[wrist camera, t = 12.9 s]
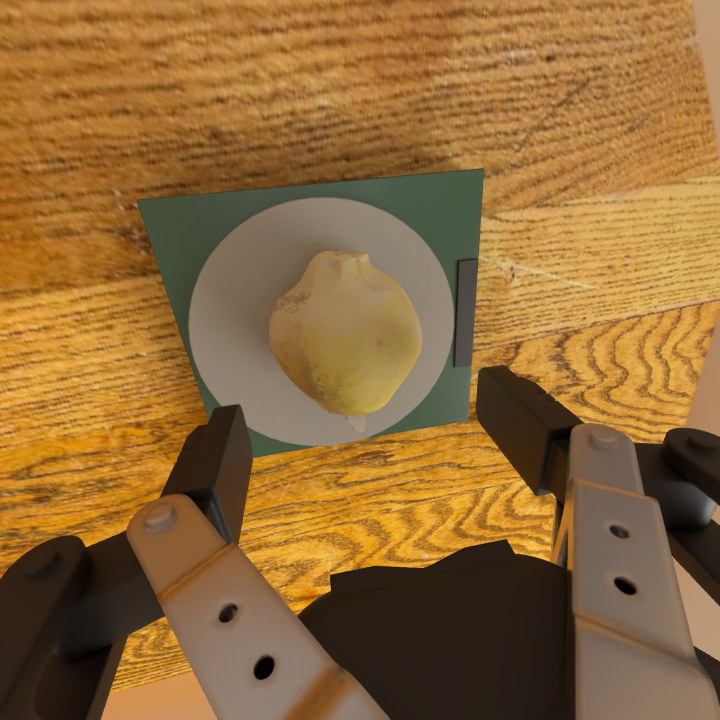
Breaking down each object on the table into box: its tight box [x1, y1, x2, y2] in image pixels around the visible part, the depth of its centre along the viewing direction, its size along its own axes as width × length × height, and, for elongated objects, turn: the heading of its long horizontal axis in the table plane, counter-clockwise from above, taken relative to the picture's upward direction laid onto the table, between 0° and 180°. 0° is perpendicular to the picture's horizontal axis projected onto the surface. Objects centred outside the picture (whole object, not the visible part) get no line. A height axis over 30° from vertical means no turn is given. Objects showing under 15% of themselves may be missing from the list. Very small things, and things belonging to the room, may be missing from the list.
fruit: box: [269, 250, 423, 434], centre depth 15 cm, size 6×6×10 cm
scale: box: [137, 168, 484, 458], centre depth 19 cm, size 15×14×3 cm
